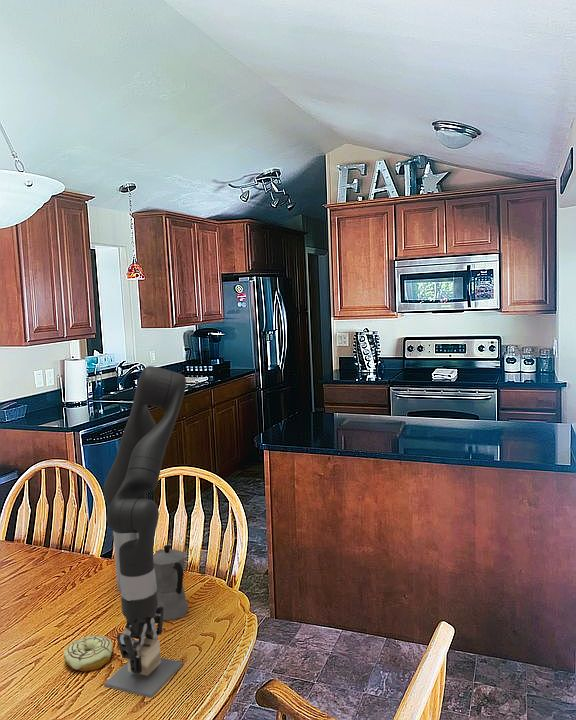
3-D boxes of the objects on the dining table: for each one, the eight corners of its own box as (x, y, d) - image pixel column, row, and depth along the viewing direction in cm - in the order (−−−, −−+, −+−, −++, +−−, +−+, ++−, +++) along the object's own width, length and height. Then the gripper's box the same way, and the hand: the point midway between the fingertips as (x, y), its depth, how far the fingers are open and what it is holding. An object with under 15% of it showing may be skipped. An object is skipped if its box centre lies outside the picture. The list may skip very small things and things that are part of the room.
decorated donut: (73, 680, 135) (71, 664, 135) (59, 658, 144) (58, 642, 143) (119, 662, 141) (118, 646, 140) (104, 642, 150) (103, 627, 149)
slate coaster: (138, 655, 143) (138, 652, 143) (183, 664, 139) (183, 662, 138) (104, 686, 132) (104, 683, 132) (151, 697, 128) (151, 695, 127)
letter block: (160, 662, 137) (159, 640, 136) (147, 675, 132) (145, 652, 131) (141, 658, 139) (139, 636, 138) (127, 671, 134) (125, 648, 133)
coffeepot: (144, 607, 165) (140, 542, 163) (177, 596, 170) (173, 533, 169) (167, 632, 152) (162, 561, 151) (202, 620, 158) (198, 551, 156)
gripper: (144, 573, 141) (149, 644, 143) (102, 603, 128) (109, 681, 130) (172, 577, 139) (177, 650, 140) (132, 608, 125) (139, 688, 127)
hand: (144, 664), depth 135 cm, fingers closed on letter block, 5 cm apart
